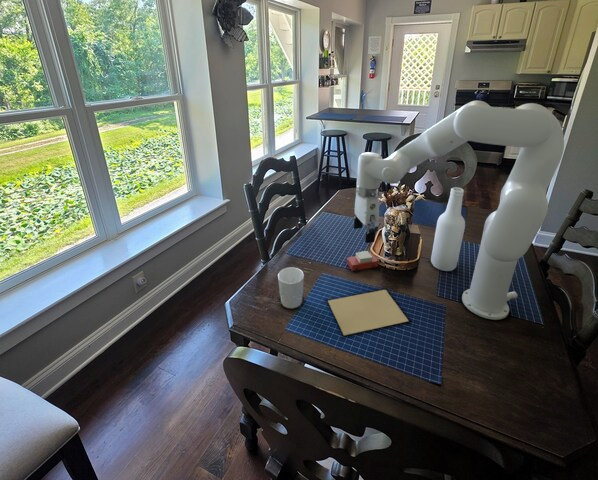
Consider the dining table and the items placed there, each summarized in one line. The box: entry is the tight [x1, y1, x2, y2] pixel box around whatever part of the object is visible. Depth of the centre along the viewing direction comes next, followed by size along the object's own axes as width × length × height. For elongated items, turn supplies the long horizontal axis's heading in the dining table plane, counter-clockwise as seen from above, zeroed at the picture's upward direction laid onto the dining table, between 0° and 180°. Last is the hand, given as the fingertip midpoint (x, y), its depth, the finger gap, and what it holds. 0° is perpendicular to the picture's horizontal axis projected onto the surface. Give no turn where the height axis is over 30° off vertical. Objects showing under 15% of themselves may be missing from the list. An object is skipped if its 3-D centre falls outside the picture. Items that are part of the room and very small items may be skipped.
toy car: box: [346, 250, 379, 272], centre depth 117 cm, size 10×5×5 cm, turn 104°
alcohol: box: [430, 186, 466, 272], centre depth 112 cm, size 9×9×30 cm
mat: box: [327, 289, 409, 336], centre depth 97 cm, size 20×14×1 cm
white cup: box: [277, 266, 305, 309], centre depth 99 cm, size 8×8×10 cm
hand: (363, 234), depth 112 cm, fingers open, 9 cm apart
